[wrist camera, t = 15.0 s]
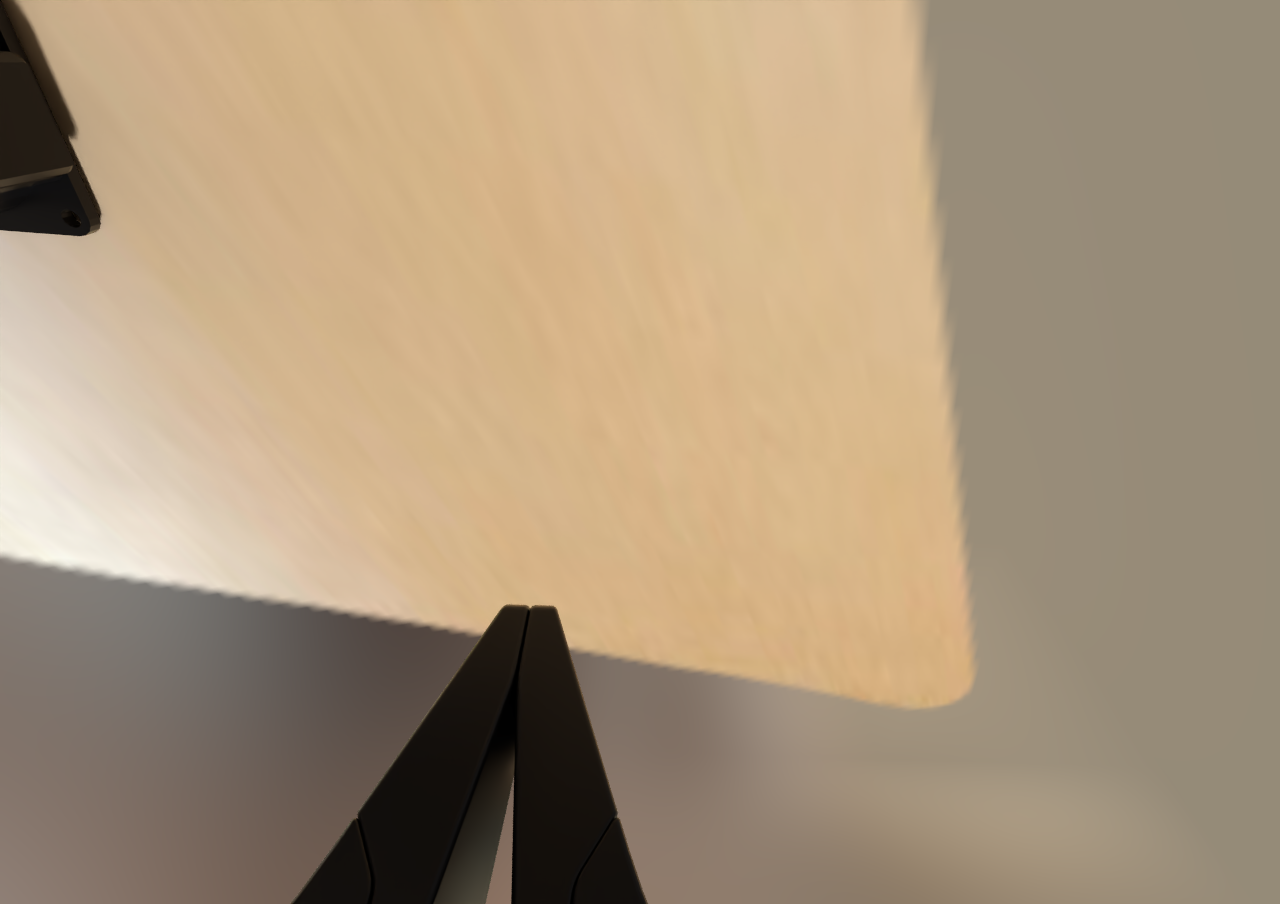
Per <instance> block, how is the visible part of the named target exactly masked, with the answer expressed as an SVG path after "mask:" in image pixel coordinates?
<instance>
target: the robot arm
mask: <svg viewBox="0 0 1280 904" xmlns="http://www.w3.org/2000/svg"><path fill="white" fill-rule="evenodd" d="M72 212H74V213H75V214H77V215H78V217H79V218H80V220H81V223H80V222H79V221H77V220H76V219H75V218H74V216H73V214H72ZM100 225H101V222H100V218H99V216H98V213H97V211H96V209H95V207H94V205H93V203H92V200H91V198H90V196H89V194H88V192H87V189H86V187H85V185H84V183H83V181H82V178H81V176H80V174H79V172H78V170H77V167H76V165H75V163H74V161H73V159H72V156H71V154H70V152H69V150H68V148H67V145H66V143H65V141H64V139H63V137H62V134H61V132H60V130H59V128H58V126H57V123H56V121H55V119H54V117H53V115H52V112H51V110H50V108H49V106H48V104H47V101H46V99H45V97H44V95H43V93H42V91H41V88H40V86H39V84H38V82H37V80H36V77H35V75H34V73H33V71H32V69H31V66H30V64H29V62H28V60H27V58H26V55H25V53H24V51H23V49H22V47H21V44H20V42H19V40H18V38H17V36H16V33H15V31H14V29H13V27H12V25H11V22H10V20H9V18H8V16H7V14H6V11H5V9H4V7H3V5H2V3H1V0H0V230H5V231H19V232H32V233H46V234H59V235H72V236H84V235H88V234H91V233H94V232H96V231H97V230H99V229H100ZM513 778H514V807H513V809H514V810H513V853H512V855H513V856H512V897H511V899H512V900H511V904H648V903H647V900H646V898H645V895H644V893H643V890H642V887H641V884H640V881H639V878H638V875H637V872H636V869H635V866H634V863H633V860H632V857H631V854H630V851H629V848H628V845H627V841H626V838H625V834H624V831H623V828H622V824H621V821H620V819H619V818H617V814H618V812H617V808H616V805H615V802H614V798H613V795H612V792H611V788H610V785H609V782H608V778H607V775H606V772H605V768H604V765H603V762H602V758H601V755H600V752H599V748H598V745H597V742H596V738H595V735H594V732H593V728H592V725H591V721H590V718H589V715H588V711H587V708H586V705H585V701H584V698H583V695H582V692H581V688H580V685H579V681H578V678H577V675H576V671H575V668H574V665H573V662H572V658H571V655H570V651H569V648H568V645H567V641H566V638H565V634H564V631H563V628H562V624H561V621H560V618H559V614H558V611H557V609H556V607H554V606H542V605H535V606H532V607H531V608H529V606H527V605H505V606H504V607H503V608H502V609H501V610H500V611H499V613H498V614H497V615H496V617H495V618H494V620H493V621H492V622H491V624H490V625H489V627H488V628H487V630H486V631H485V632H484V634H483V635H482V637H481V638H480V639H479V641H478V642H477V644H476V645H475V647H474V648H473V649H472V651H471V652H470V654H469V655H468V657H467V658H466V659H465V661H464V662H463V664H462V665H461V666H460V668H459V669H458V671H457V672H456V674H455V675H454V676H453V678H452V679H451V681H450V682H449V683H448V685H447V686H446V688H445V689H444V691H443V692H442V693H441V695H440V696H439V698H438V699H437V700H436V702H435V703H434V705H433V706H432V708H431V709H430V710H429V712H428V713H427V715H426V716H425V718H424V719H423V720H422V722H421V723H420V725H419V726H418V727H417V729H416V730H415V732H414V733H413V734H412V736H411V737H410V739H409V740H408V742H407V743H406V744H405V746H404V747H403V749H402V750H401V752H400V753H399V754H398V756H397V758H396V759H395V760H394V762H393V763H392V764H391V766H390V767H389V769H388V770H387V771H386V773H385V774H384V776H383V777H382V778H381V780H380V781H379V783H378V784H377V786H376V787H375V788H374V790H373V791H372V793H371V794H370V796H369V797H368V799H367V800H366V801H365V803H364V804H363V805H362V807H361V808H360V810H359V811H358V814H357V815H358V819H357V818H354V819H353V820H352V821H351V822H350V823H349V825H348V826H347V828H346V829H345V830H344V832H343V833H342V835H341V836H340V838H339V839H338V840H337V842H336V843H335V845H334V846H333V847H332V849H331V850H330V852H329V853H328V854H327V856H326V857H325V858H324V860H323V861H322V863H321V864H320V865H319V867H318V868H317V869H316V871H315V872H314V873H313V875H312V876H311V878H310V879H309V880H308V881H307V883H306V884H305V886H304V887H303V888H302V890H301V891H300V892H299V893H298V895H297V896H296V897H295V899H294V900H293V901H292V902H291V904H485V903H486V899H487V894H488V890H489V885H490V881H491V876H492V872H493V867H494V863H495V858H496V854H497V850H498V845H499V840H500V835H501V832H502V827H503V823H504V818H505V814H506V809H507V805H508V800H509V796H510V791H511V787H512V782H513Z"/></svg>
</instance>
